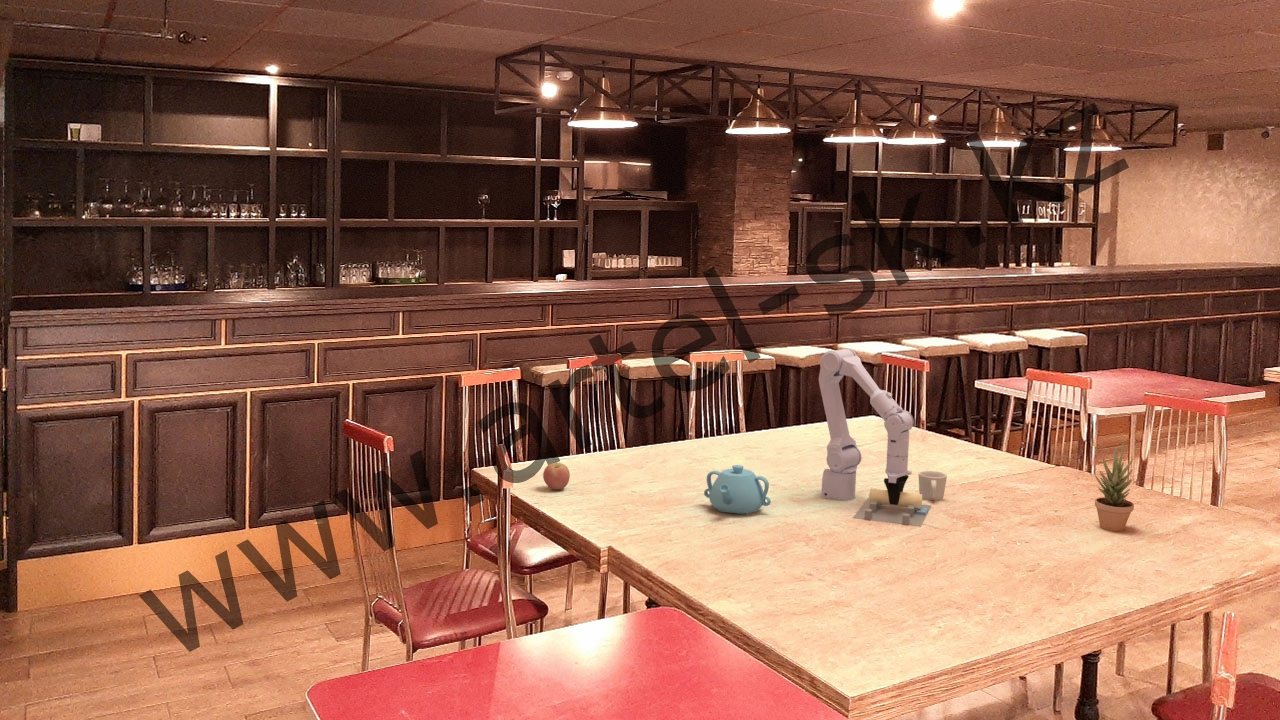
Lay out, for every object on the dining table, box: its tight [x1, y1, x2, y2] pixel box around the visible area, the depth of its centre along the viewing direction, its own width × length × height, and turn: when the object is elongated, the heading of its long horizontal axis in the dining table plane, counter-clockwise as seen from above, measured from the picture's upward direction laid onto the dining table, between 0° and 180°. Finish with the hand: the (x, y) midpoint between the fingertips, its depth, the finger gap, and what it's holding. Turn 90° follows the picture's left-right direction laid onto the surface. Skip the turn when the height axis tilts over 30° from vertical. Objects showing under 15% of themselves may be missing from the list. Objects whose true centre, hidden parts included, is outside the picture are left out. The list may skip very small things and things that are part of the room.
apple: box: [542, 462, 571, 491], centre depth 306 cm, size 8×8×8 cm
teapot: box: [703, 464, 772, 516], centre depth 285 cm, size 20×20×13 cm
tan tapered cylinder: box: [868, 488, 923, 509], centre depth 287 cm, size 14×4×4 cm, turn 67°
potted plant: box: [1094, 438, 1135, 532], centre depth 275 cm, size 10×10×25 cm
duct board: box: [852, 497, 932, 528], centre depth 285 cm, size 18×22×3 cm
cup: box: [918, 470, 948, 502], centre depth 299 cm, size 11×8×8 cm
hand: (895, 502), depth 287 cm, fingers closed on tan tapered cylinder, 4 cm apart
